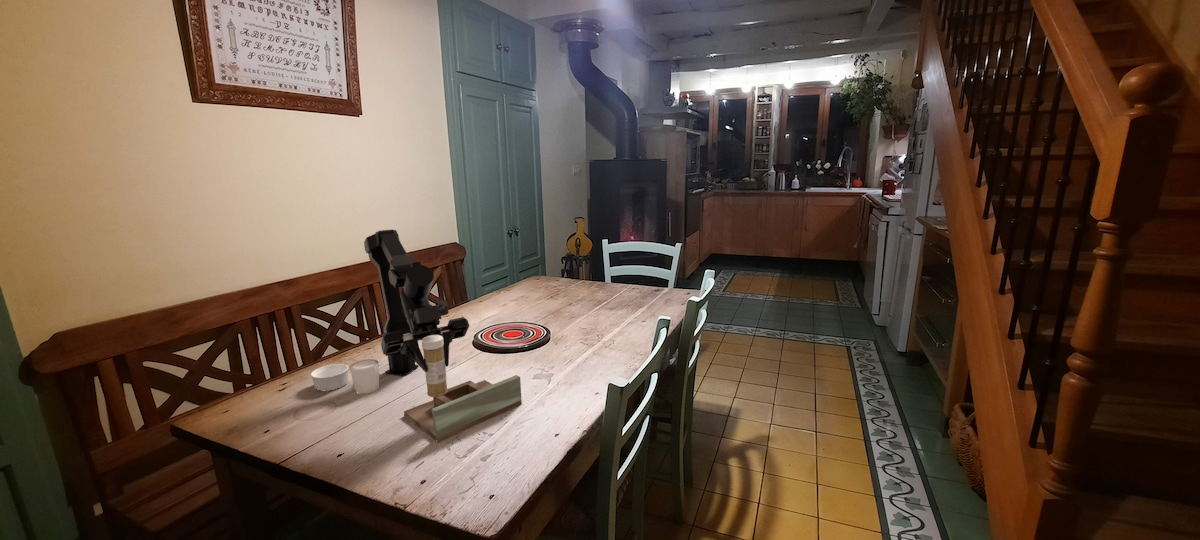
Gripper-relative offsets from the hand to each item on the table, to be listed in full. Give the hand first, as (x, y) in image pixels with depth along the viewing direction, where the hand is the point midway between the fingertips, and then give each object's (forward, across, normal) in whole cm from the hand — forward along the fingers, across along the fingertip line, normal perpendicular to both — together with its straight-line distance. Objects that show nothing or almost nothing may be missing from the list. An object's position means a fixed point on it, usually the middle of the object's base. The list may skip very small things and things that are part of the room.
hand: (437, 368), depth 108 cm
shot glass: (-10, -10, +30) cm, 33 cm away
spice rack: (+8, +6, +11) cm, 15 cm away
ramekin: (-16, -18, +36) cm, 43 cm away
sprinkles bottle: (+4, 0, +6) cm, 7 cm away
